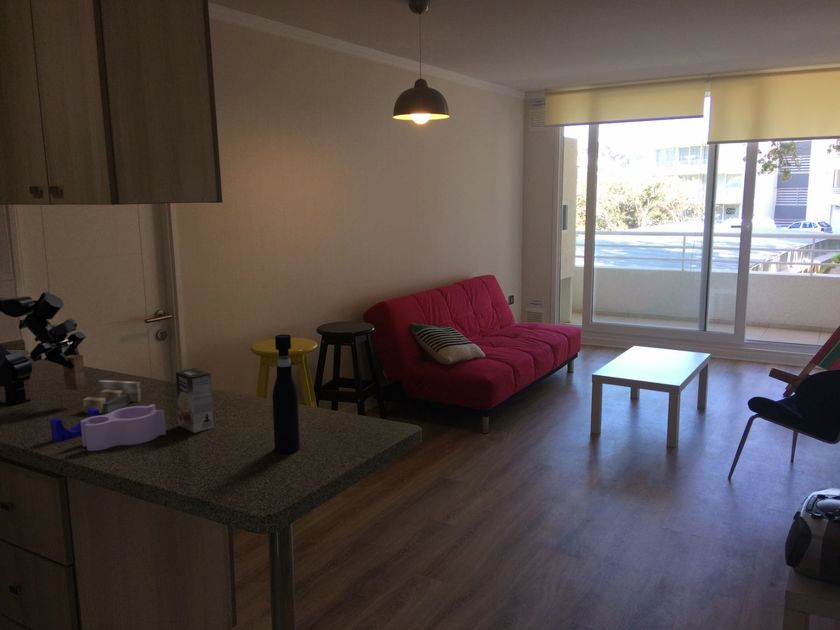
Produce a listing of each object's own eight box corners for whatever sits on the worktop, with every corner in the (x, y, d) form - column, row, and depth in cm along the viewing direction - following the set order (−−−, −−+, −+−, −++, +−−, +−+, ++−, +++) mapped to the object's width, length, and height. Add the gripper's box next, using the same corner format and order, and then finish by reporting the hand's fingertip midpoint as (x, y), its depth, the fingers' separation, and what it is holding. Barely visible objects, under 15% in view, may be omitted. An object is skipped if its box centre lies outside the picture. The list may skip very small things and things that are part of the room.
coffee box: (177, 425, 194) (174, 371, 192) (198, 420, 199) (195, 367, 196) (194, 433, 188) (190, 377, 185) (215, 427, 193) (211, 372, 190)
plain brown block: (65, 389, 211) (62, 357, 209) (74, 385, 214) (71, 354, 213) (76, 389, 210) (73, 358, 208) (85, 386, 214) (82, 355, 212)
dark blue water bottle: (287, 455, 172) (283, 339, 167) (269, 450, 175) (264, 336, 170) (304, 447, 177) (301, 335, 172) (286, 443, 181) (282, 332, 176)
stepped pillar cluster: (72, 411, 208) (70, 392, 206) (102, 397, 221) (100, 379, 220) (113, 414, 205) (111, 394, 204) (141, 400, 219) (139, 382, 218)
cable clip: (91, 427, 194) (90, 407, 193) (100, 430, 192) (98, 409, 190) (49, 439, 184) (47, 418, 183) (58, 443, 182) (55, 421, 181)
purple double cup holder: (92, 455, 173) (90, 429, 172) (78, 442, 182) (75, 417, 181) (170, 436, 186) (168, 412, 185) (152, 425, 195) (151, 402, 194)
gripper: (34, 317, 200) (71, 355, 200) (77, 307, 218) (111, 342, 218) (14, 342, 203) (50, 380, 202) (58, 330, 221) (91, 365, 220)
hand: (77, 365), depth 211 cm, fingers closed on plain brown block, 4 cm apart
